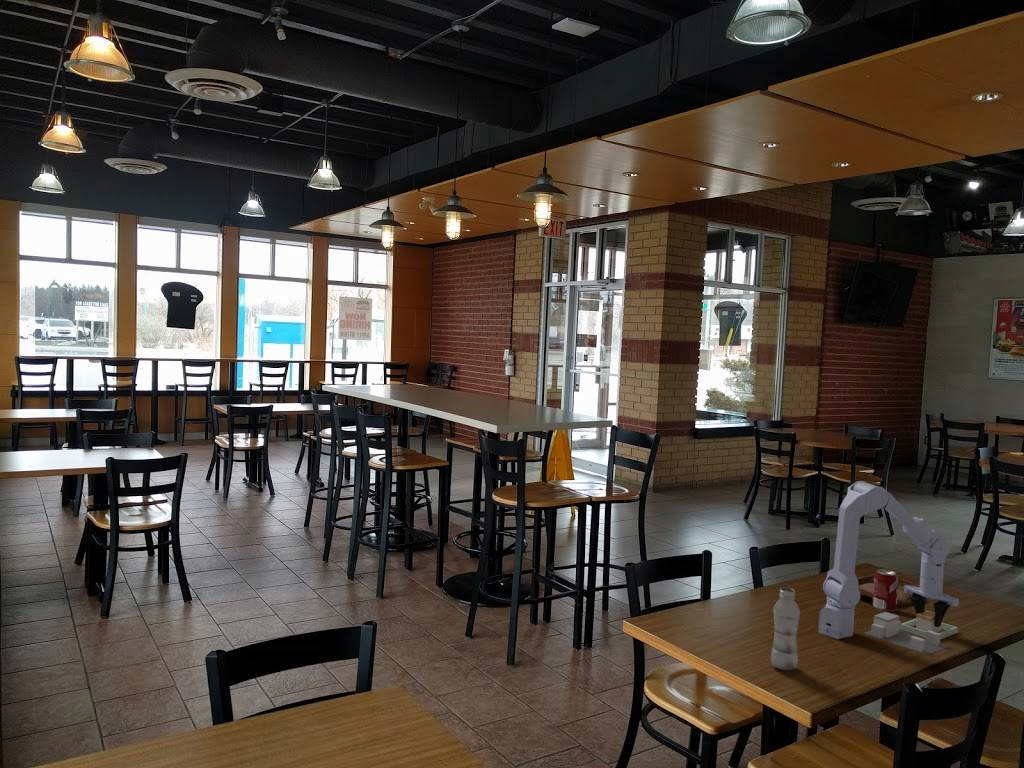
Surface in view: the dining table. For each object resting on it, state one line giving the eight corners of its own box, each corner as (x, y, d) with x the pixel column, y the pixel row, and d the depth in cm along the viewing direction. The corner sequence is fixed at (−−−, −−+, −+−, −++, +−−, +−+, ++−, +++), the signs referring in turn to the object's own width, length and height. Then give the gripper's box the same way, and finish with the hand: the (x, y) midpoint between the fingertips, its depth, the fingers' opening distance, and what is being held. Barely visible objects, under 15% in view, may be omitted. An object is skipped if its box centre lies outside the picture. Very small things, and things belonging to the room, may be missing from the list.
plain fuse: (886, 637, 212) (887, 619, 211) (873, 632, 215) (874, 615, 215) (898, 633, 215) (899, 616, 215) (884, 628, 218) (885, 611, 218)
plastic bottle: (790, 662, 194) (794, 585, 193) (802, 674, 187) (805, 594, 186) (766, 662, 194) (769, 585, 193) (776, 673, 187) (780, 594, 186)
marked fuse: (930, 635, 214) (930, 618, 214) (915, 631, 218) (916, 614, 217) (940, 631, 218) (941, 614, 218) (926, 627, 221) (926, 610, 221)
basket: (898, 612, 236) (899, 596, 236) (835, 595, 251) (835, 580, 251) (925, 598, 251) (926, 583, 251) (864, 583, 266) (865, 569, 266)
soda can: (883, 614, 234) (885, 575, 233) (867, 606, 240) (869, 569, 240) (901, 612, 236) (903, 574, 235) (885, 605, 242) (887, 568, 241)
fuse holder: (927, 657, 200) (928, 643, 200) (863, 635, 215) (863, 622, 215) (948, 649, 206) (949, 635, 206) (884, 628, 221) (884, 615, 221)
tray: (936, 643, 210) (936, 635, 210) (899, 631, 219) (900, 624, 219) (957, 635, 217) (957, 627, 217) (921, 624, 226) (921, 616, 226)
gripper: (965, 581, 214) (962, 629, 214) (913, 568, 225) (910, 613, 226) (952, 585, 210) (950, 633, 210) (901, 572, 221) (898, 617, 222)
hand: (928, 623), depth 218 cm, fingers open, 4 cm apart
